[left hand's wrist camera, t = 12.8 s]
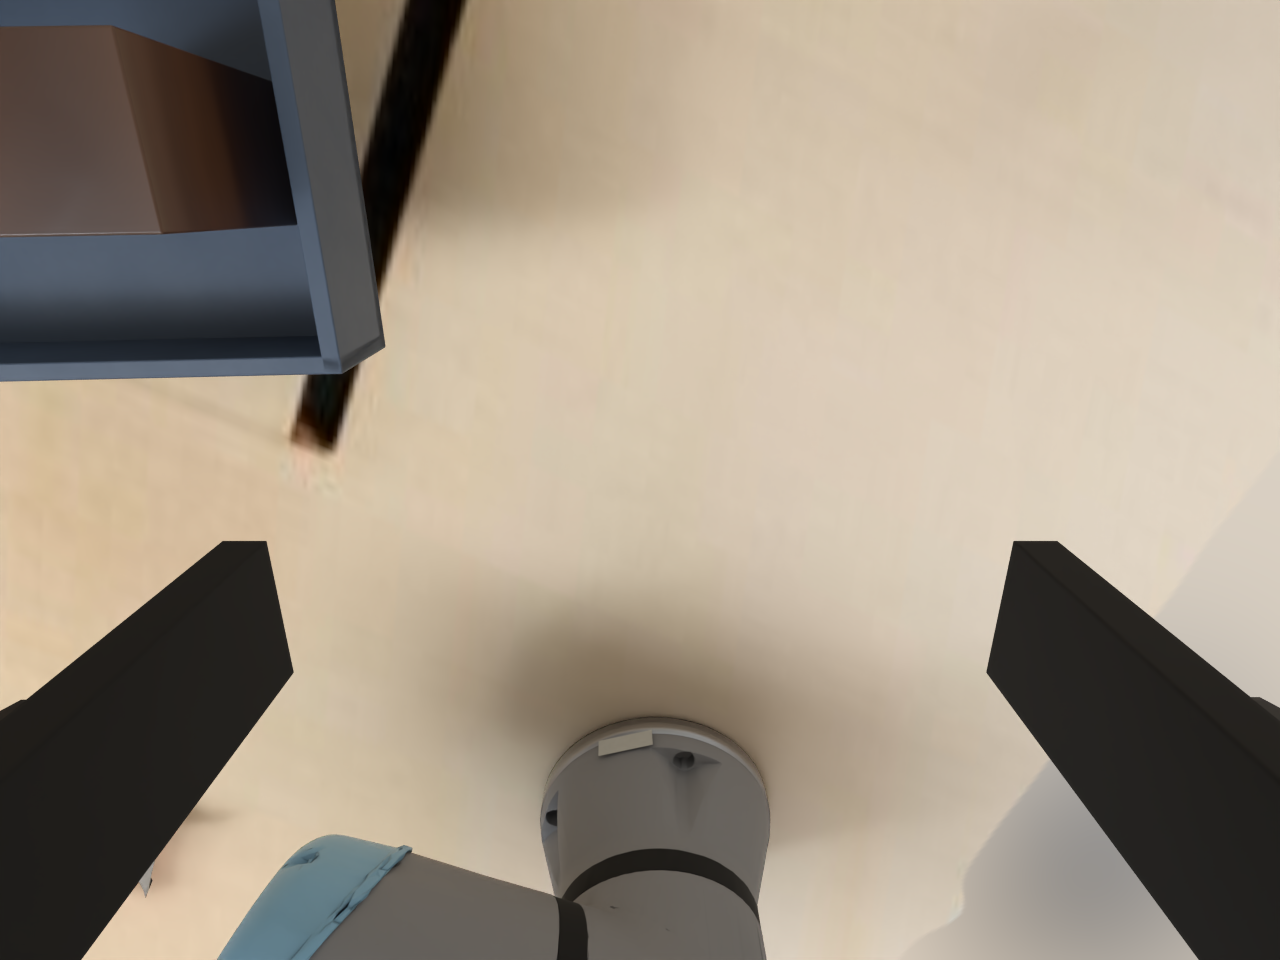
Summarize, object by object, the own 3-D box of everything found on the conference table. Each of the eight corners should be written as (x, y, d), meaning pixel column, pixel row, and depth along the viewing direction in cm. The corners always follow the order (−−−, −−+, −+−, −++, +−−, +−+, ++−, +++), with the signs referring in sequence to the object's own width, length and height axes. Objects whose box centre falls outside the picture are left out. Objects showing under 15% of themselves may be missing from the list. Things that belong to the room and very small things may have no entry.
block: (272, 80, 24) (112, 24, 16) (298, 225, 25) (163, 234, 18) (134, 82, 24) (-91, 26, 16) (169, 227, 25) (-21, 238, 18)
